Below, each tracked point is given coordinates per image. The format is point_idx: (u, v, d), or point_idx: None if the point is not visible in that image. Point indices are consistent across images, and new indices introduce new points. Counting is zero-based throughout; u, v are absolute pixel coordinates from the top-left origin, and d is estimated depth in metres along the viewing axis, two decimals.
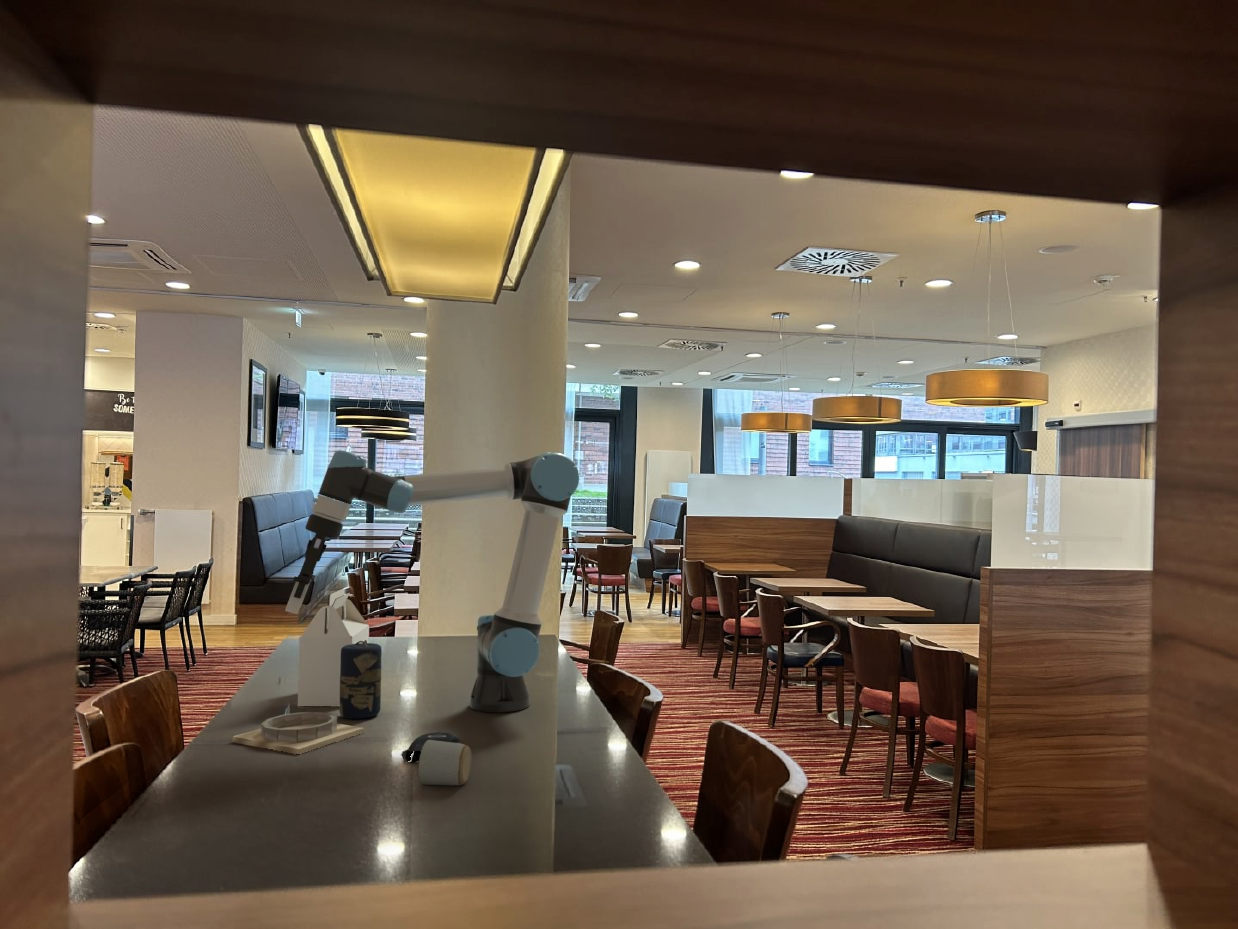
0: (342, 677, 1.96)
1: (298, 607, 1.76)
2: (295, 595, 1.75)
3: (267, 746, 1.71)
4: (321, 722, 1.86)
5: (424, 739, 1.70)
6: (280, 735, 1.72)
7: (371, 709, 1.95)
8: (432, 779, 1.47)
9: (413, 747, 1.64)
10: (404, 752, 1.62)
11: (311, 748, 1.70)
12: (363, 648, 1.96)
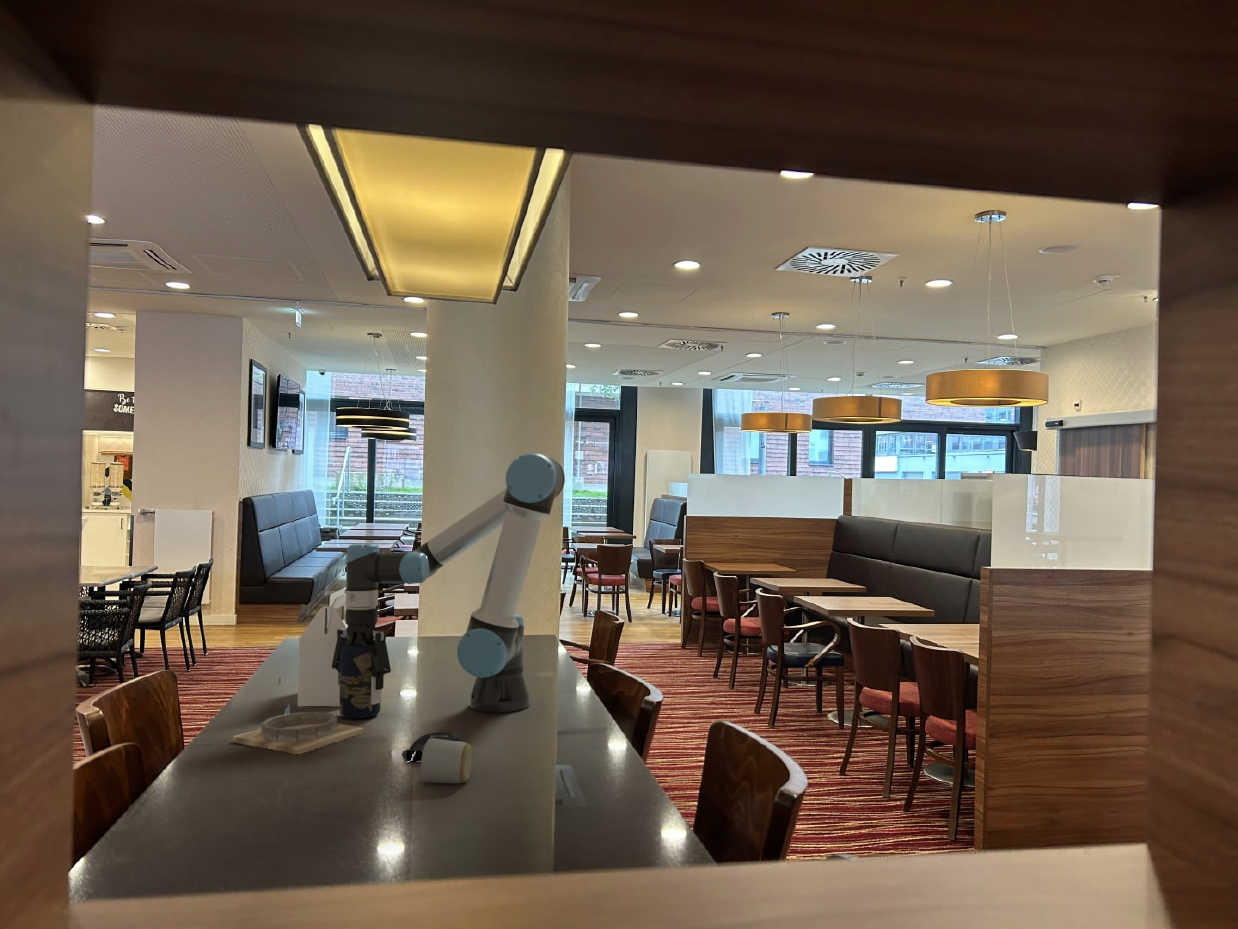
0: (342, 677, 1.96)
1: (380, 696, 1.97)
2: (379, 688, 1.95)
3: (267, 746, 1.71)
4: (321, 722, 1.86)
5: (426, 739, 1.70)
6: (280, 735, 1.72)
7: (370, 709, 1.95)
8: (434, 777, 1.48)
9: (414, 747, 1.64)
10: (404, 752, 1.62)
11: (311, 748, 1.70)
12: (363, 648, 1.96)
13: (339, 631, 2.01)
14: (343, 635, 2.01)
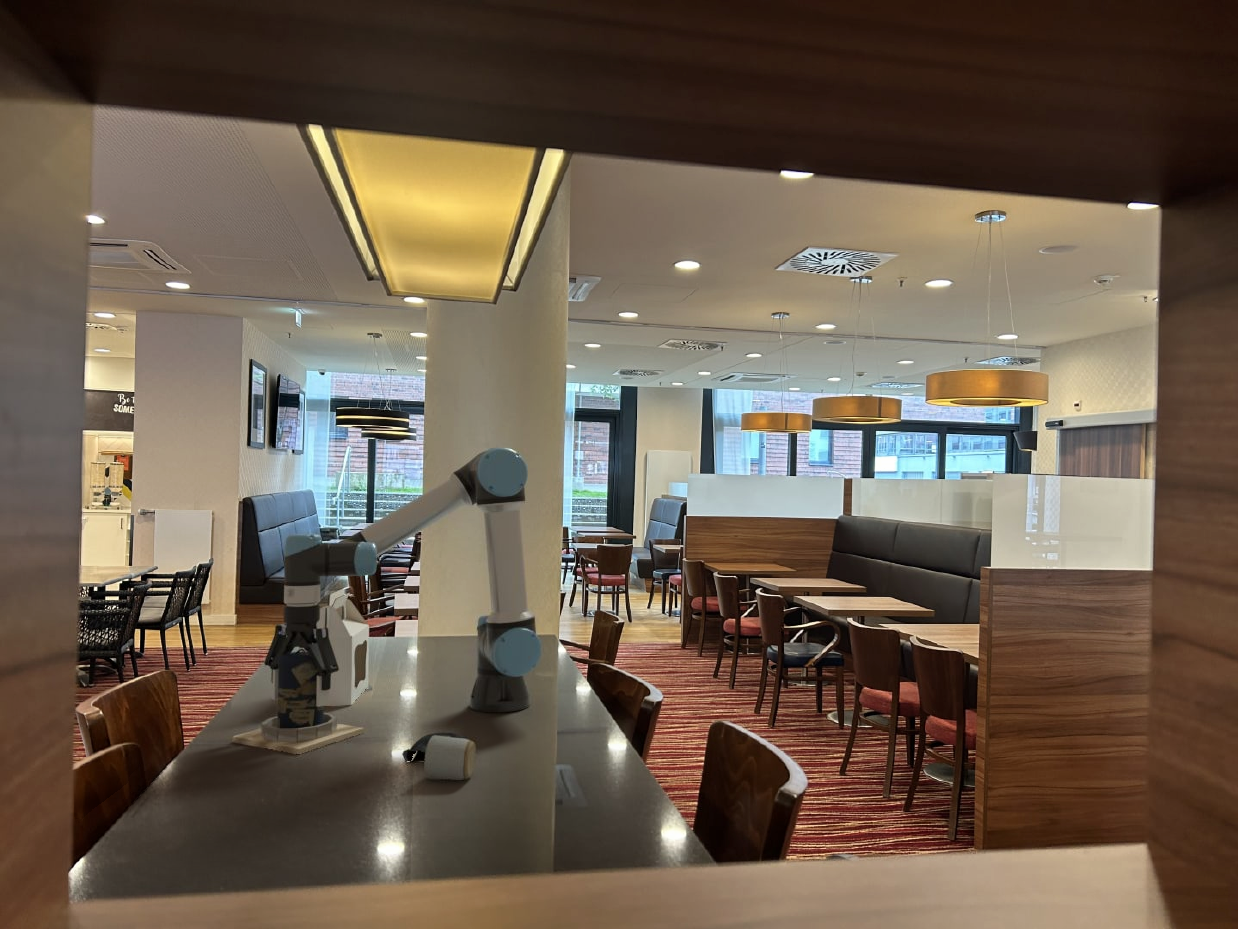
0: (279, 689, 1.77)
1: (327, 697, 1.78)
2: (326, 688, 1.76)
3: (267, 746, 1.71)
4: None
5: (428, 739, 1.70)
6: (280, 735, 1.72)
7: (311, 724, 1.77)
8: (437, 774, 1.50)
9: (415, 747, 1.65)
10: (405, 752, 1.62)
11: (311, 748, 1.70)
12: (303, 657, 1.77)
13: (278, 627, 1.83)
14: (281, 632, 1.83)
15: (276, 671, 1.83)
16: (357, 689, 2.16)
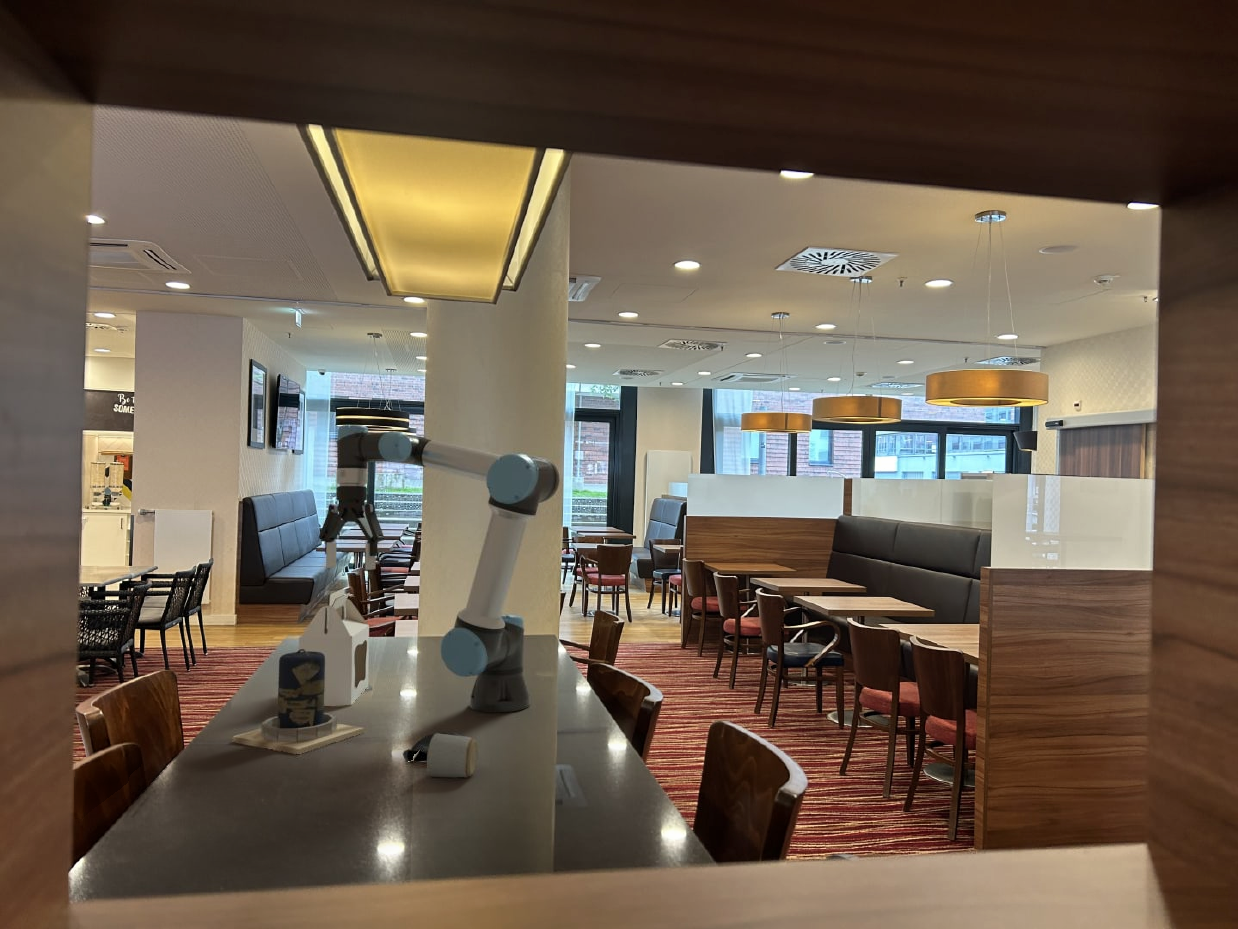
0: (280, 689, 1.77)
1: (374, 563, 2.08)
2: (373, 554, 2.06)
3: (267, 746, 1.71)
4: None
5: (429, 739, 1.70)
6: (280, 735, 1.72)
7: (311, 724, 1.77)
8: (439, 771, 1.51)
9: (415, 747, 1.65)
10: (406, 752, 1.62)
11: (311, 748, 1.70)
12: (303, 657, 1.77)
13: (330, 506, 2.13)
14: (334, 510, 2.13)
15: (329, 543, 2.13)
16: (357, 689, 2.16)
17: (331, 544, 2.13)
